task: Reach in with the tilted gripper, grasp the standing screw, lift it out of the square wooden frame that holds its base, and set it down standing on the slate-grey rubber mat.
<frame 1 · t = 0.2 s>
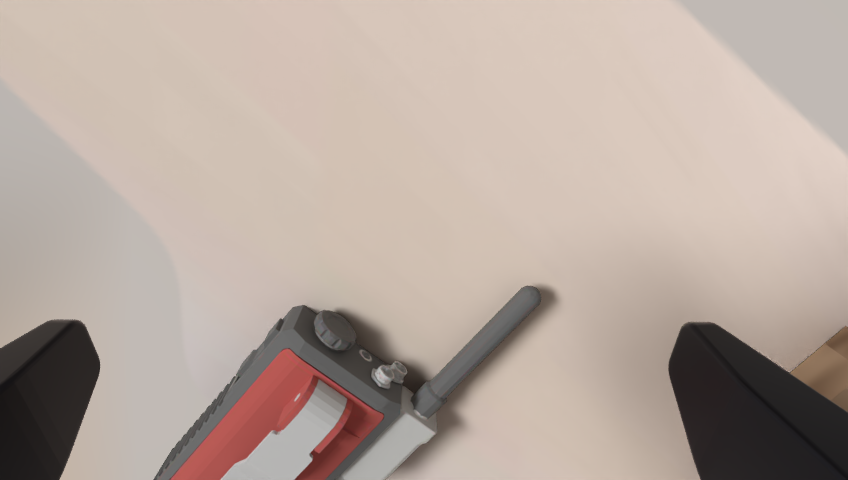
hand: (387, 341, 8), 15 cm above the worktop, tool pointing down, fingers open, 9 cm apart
walkie-talkie: (340, 380, 27), on the worktop
square wooden frame: (824, 442, 28), on the worktop
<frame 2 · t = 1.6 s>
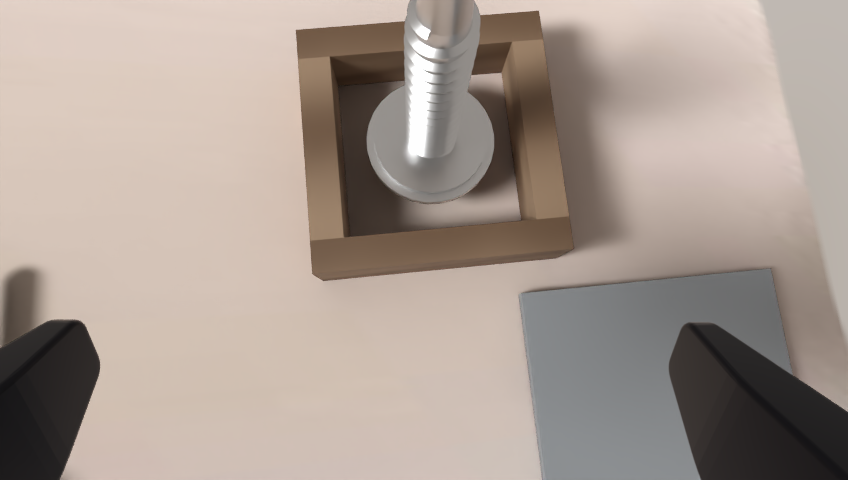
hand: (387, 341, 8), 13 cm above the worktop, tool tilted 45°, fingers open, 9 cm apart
screw: (428, 159, 23), on the worktop
mat: (662, 410, 21), on the worktop
square wooden frame: (428, 157, 23), on the worktop
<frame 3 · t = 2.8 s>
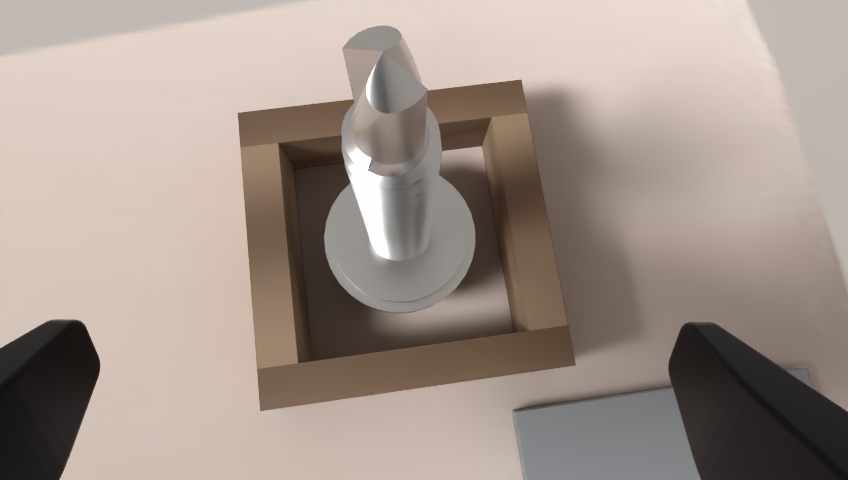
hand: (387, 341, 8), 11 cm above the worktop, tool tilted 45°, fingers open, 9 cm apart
screw: (401, 250, 20), on the worktop
square wooden frame: (401, 249, 20), on the worktop
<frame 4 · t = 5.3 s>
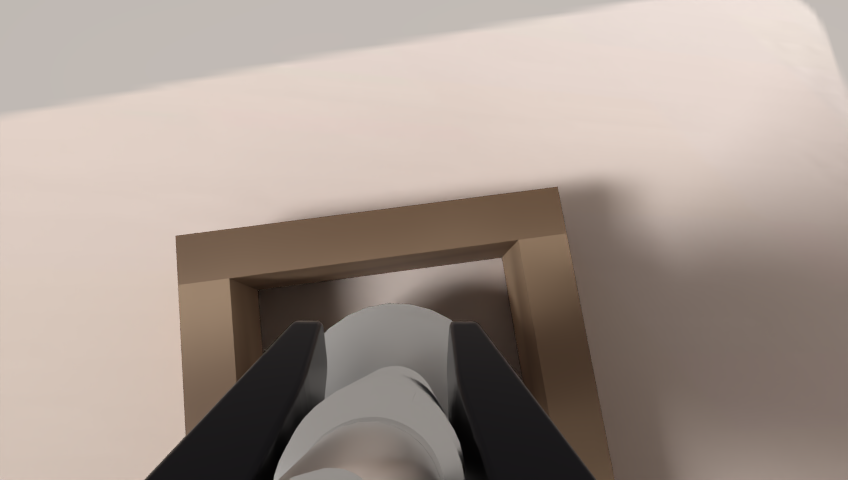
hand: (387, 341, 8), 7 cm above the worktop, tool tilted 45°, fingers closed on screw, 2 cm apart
screw: (397, 398, 15), on the worktop, touching gripper
square wooden frame: (396, 399, 15), on the worktop
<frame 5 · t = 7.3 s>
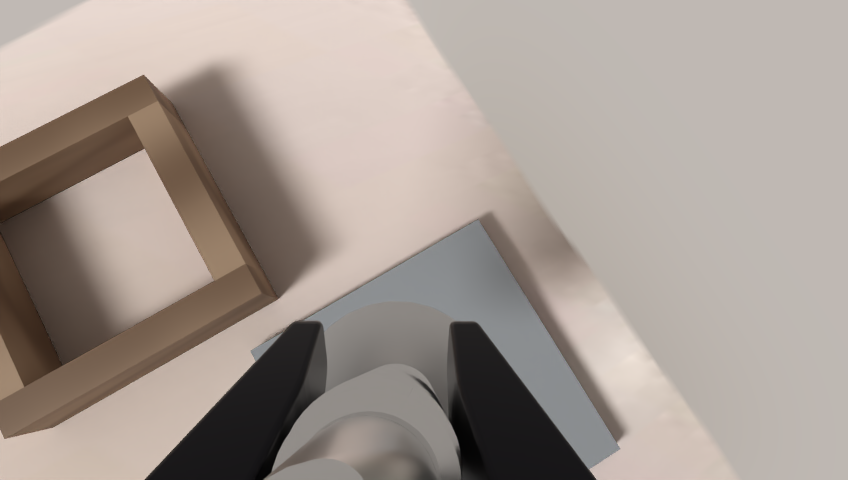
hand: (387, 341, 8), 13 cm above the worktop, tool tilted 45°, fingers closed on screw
screw: (398, 396, 15), point 6 cm above the worktop, touching gripper
mat: (433, 397, 21), on the worktop
square wooden frame: (116, 256, 22), on the worktop
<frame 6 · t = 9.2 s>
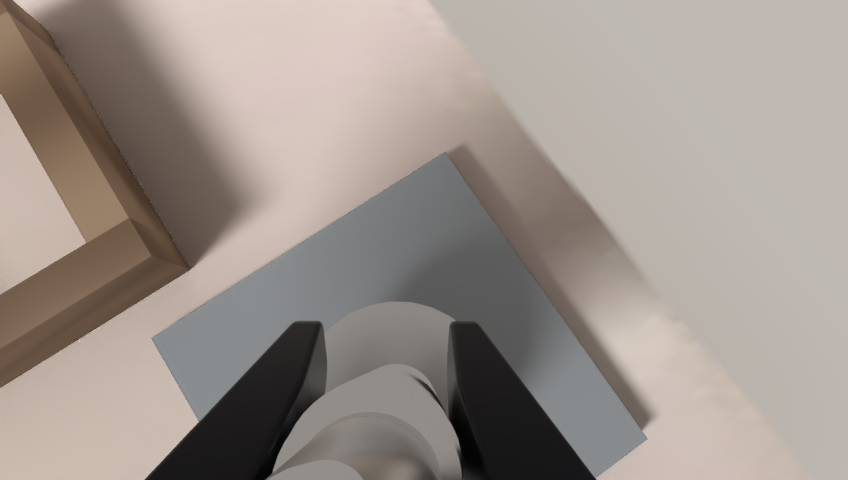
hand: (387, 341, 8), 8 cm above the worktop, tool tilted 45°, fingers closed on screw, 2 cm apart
screw: (399, 396, 15), point 1 cm above the worktop, touching gripper
mat: (398, 386, 16), on the worktop
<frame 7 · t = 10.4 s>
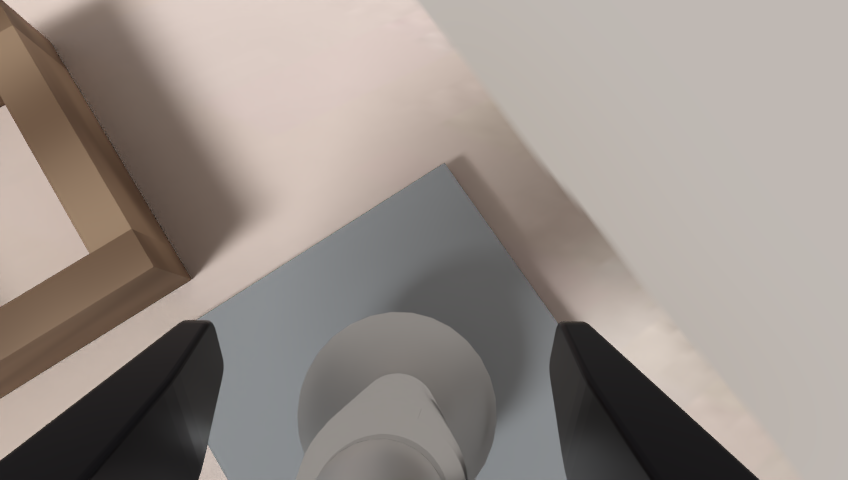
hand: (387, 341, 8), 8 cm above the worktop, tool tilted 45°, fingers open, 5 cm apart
screw: (399, 403, 16), resting on mat
mat: (398, 395, 16), on the worktop
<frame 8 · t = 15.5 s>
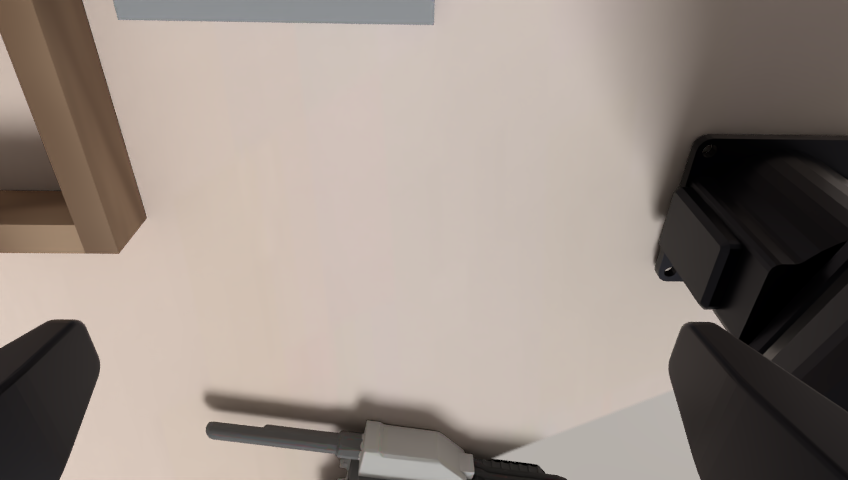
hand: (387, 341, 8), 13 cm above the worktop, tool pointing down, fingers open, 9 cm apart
walkie-talkie: (390, 463, 32), on the worktop
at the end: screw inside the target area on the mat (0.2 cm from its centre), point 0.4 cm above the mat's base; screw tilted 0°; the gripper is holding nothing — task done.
